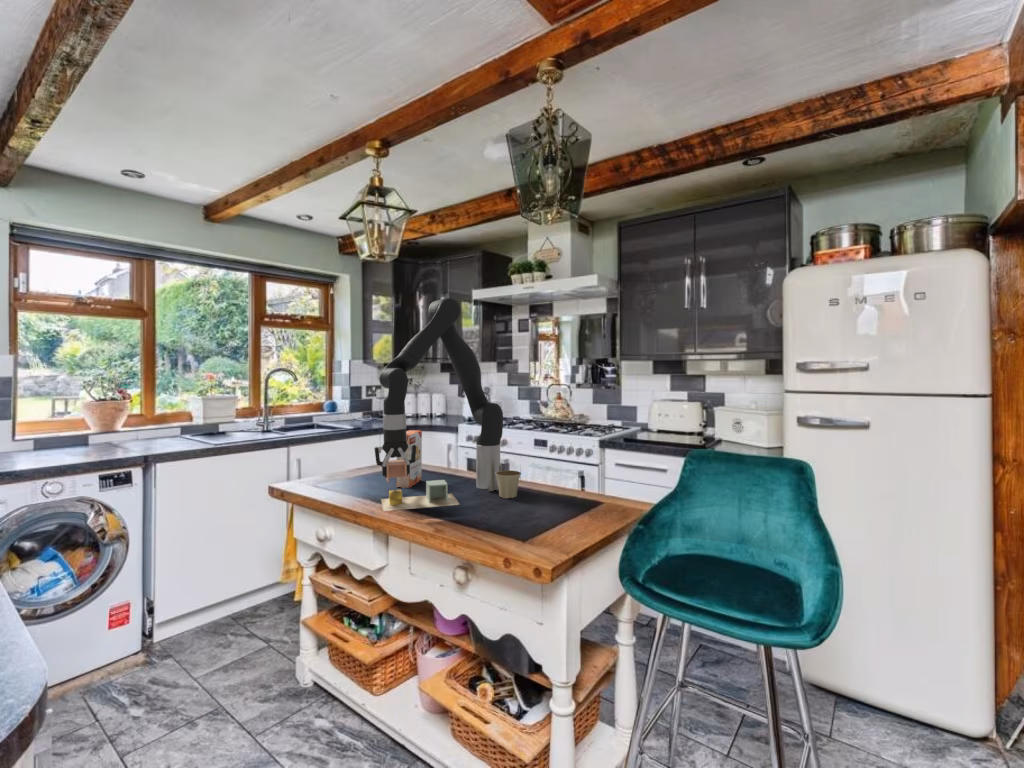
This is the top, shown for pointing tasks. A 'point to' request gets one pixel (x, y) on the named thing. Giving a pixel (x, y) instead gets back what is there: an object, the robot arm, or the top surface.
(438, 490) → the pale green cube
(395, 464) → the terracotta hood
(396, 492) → the letter cube
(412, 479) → the cracker box
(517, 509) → the top surface
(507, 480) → the flower pot
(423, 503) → the board
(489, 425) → the robot arm
